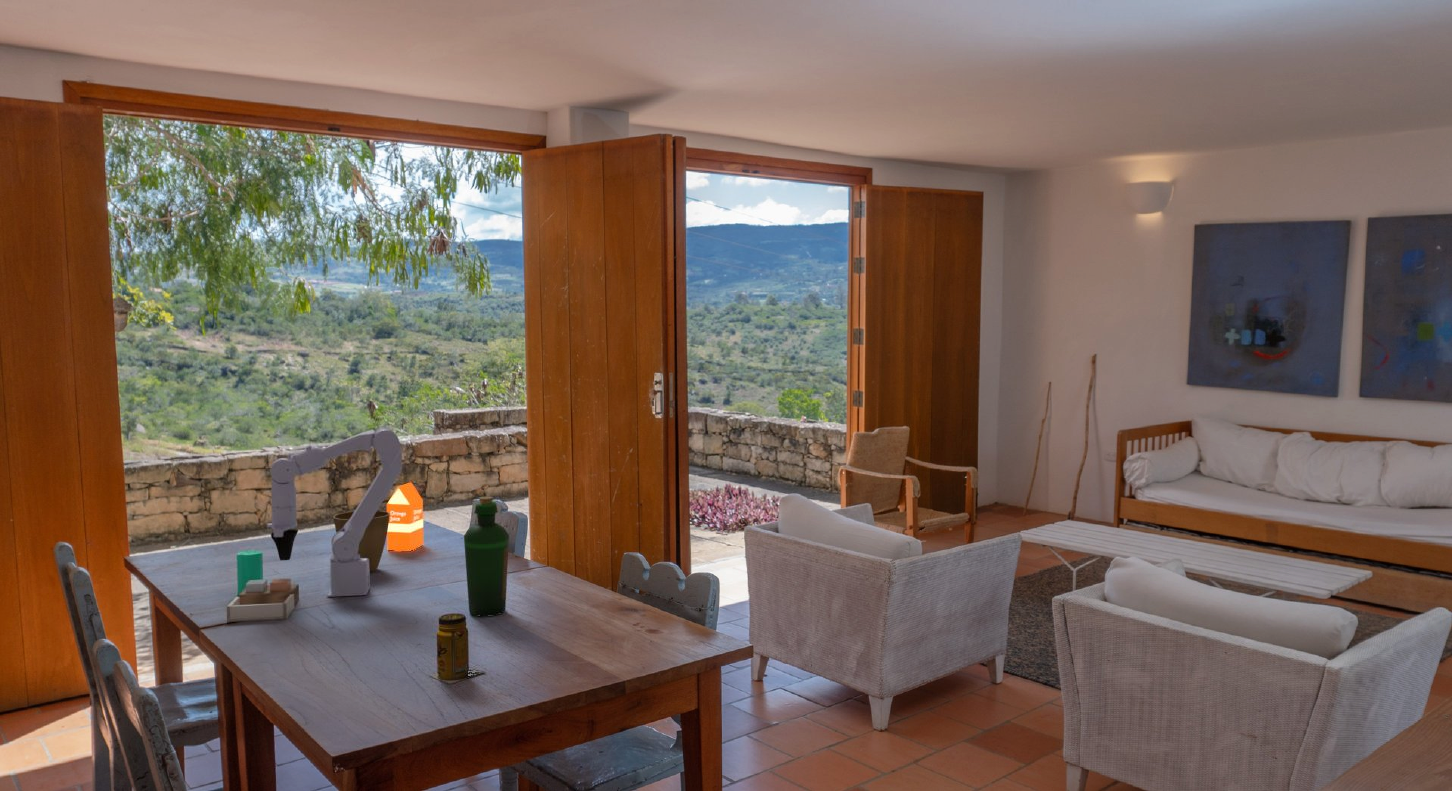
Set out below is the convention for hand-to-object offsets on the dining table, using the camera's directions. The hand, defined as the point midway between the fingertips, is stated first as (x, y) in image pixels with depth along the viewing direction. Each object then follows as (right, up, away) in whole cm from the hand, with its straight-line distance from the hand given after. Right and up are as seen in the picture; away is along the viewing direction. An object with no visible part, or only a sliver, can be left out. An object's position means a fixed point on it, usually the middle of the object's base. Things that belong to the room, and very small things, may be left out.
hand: (285, 559), depth 253 cm
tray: (+1, -11, -14) cm, 18 cm away
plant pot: (+9, -8, +30) cm, 32 cm away
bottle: (+54, -11, -11) cm, 56 cm away
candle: (-11, -10, +6) cm, 16 cm away
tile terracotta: (+1, -6, -5) cm, 8 cm away
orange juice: (+12, -6, +58) cm, 59 cm away
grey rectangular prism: (-4, -6, -7) cm, 10 cm away
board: (-1, -10, -6) cm, 12 cm away
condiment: (+58, -14, -54) cm, 80 cm away
